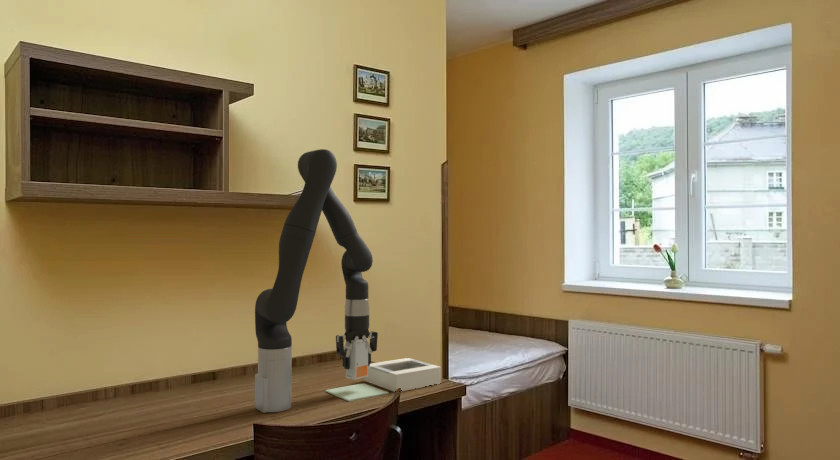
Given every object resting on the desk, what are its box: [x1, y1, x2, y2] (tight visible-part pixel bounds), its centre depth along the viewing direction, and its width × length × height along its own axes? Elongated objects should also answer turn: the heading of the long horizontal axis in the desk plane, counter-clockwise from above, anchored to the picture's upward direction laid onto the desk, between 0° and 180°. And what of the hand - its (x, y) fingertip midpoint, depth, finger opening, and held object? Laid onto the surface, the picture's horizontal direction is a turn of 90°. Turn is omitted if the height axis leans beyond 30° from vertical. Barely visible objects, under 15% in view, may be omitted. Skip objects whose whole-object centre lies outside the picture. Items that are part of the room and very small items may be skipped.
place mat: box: [325, 382, 389, 402], centre depth 184 cm, size 14×14×1 cm
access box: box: [364, 357, 442, 393], centre depth 197 cm, size 18×18×6 cm
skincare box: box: [345, 337, 369, 381], centre depth 184 cm, size 6×4×12 cm
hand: (357, 367), depth 184 cm, fingers closed on skincare box, 6 cm apart
